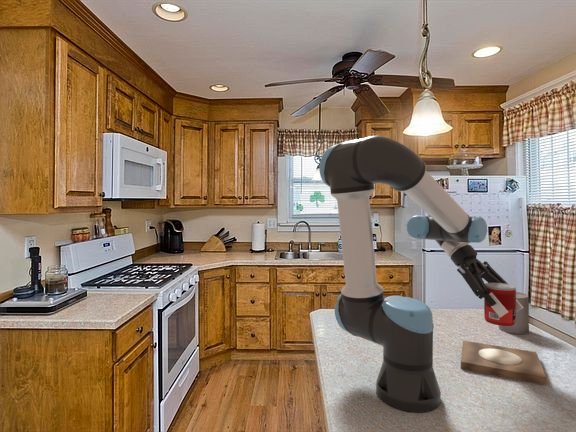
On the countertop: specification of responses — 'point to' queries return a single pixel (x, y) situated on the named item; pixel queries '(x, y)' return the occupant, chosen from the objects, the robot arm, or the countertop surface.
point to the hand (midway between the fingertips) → (511, 312)
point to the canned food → (507, 299)
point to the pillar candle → (520, 317)
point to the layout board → (502, 362)
